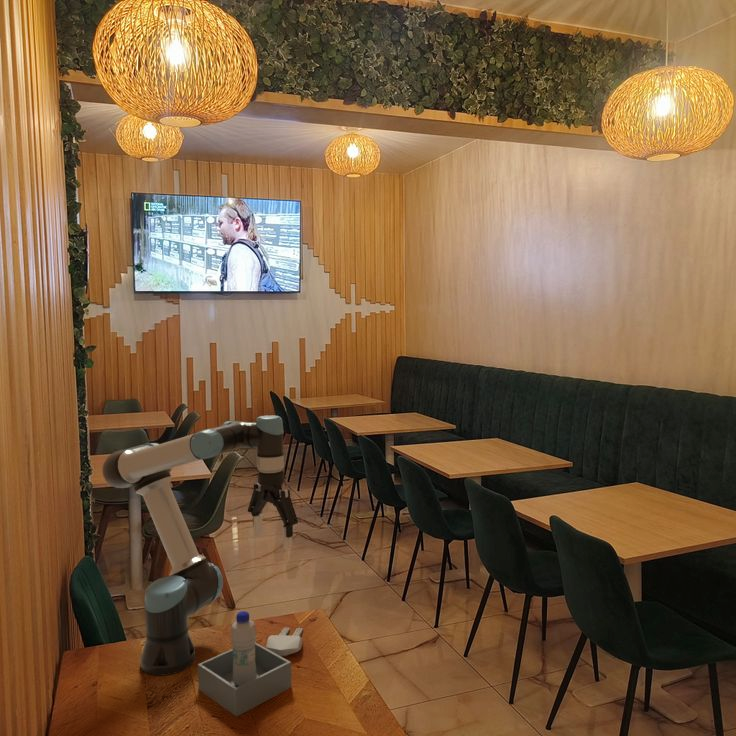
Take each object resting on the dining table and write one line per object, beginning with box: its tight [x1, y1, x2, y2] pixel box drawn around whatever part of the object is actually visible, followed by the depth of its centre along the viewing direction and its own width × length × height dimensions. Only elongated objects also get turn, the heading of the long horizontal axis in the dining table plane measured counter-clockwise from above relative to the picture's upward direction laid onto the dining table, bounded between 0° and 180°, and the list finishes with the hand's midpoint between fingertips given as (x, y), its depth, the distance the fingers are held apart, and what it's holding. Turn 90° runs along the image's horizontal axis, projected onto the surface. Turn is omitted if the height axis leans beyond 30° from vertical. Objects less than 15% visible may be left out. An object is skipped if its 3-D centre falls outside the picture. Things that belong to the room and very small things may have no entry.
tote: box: [197, 641, 292, 717], centre depth 171 cm, size 18×18×7 cm
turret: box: [265, 626, 304, 657], centre depth 194 cm, size 10×20×5 cm, turn 175°
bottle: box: [230, 610, 257, 687], centre depth 170 cm, size 7×7×20 cm
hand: (272, 542), depth 184 cm, fingers open, 13 cm apart
